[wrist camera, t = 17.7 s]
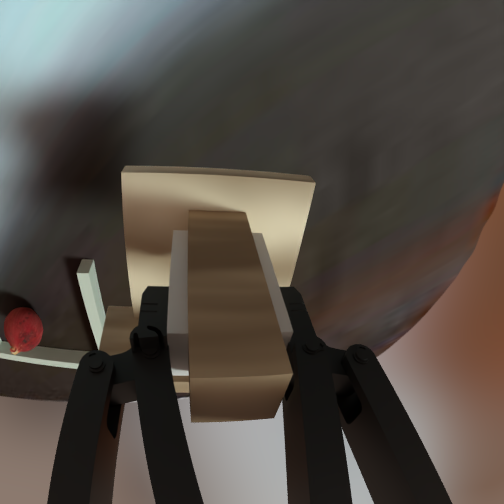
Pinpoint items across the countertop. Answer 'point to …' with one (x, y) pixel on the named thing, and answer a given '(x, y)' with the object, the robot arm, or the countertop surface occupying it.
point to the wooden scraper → (216, 277)
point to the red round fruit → (23, 329)
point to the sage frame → (96, 319)
